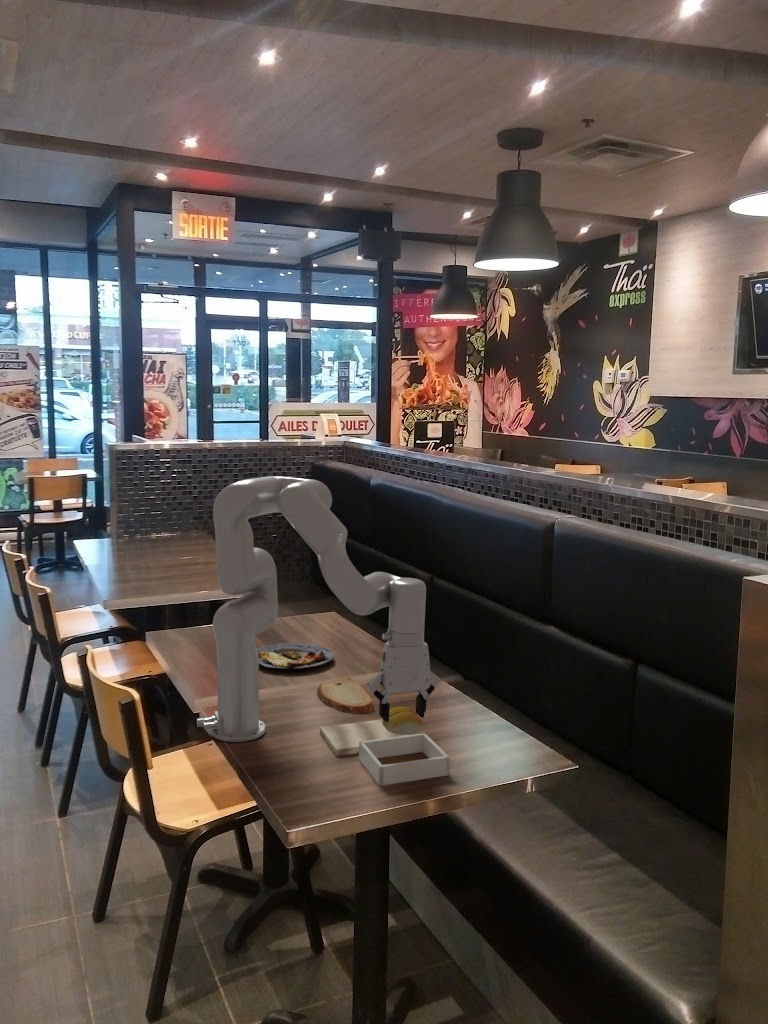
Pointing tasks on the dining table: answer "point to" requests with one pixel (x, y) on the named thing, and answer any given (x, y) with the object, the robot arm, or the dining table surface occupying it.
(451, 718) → the dining table surface
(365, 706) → the slice of bread
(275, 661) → the food plate
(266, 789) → the dining table surface
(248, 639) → the robot arm
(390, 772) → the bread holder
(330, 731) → the birch board
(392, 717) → the bread roll
